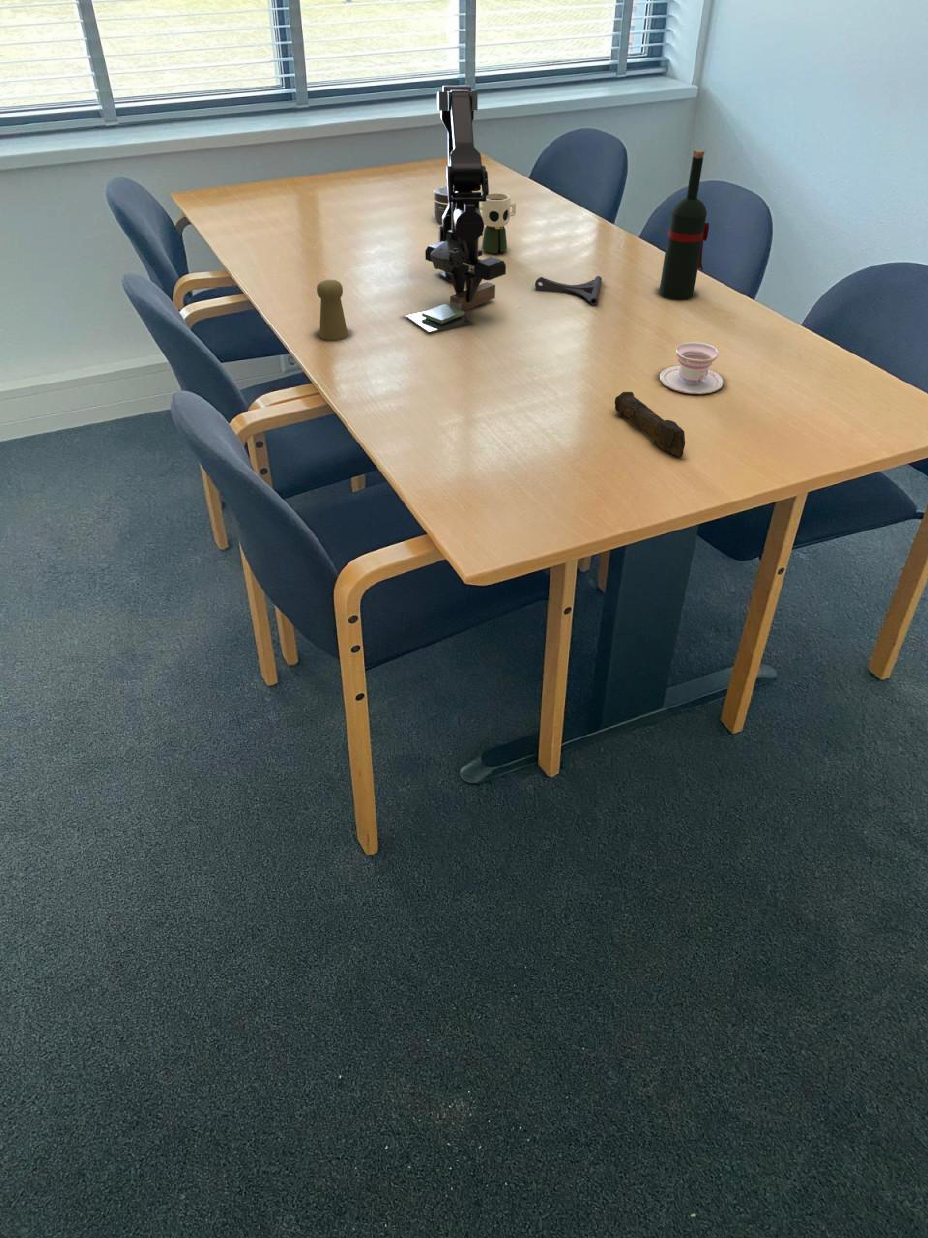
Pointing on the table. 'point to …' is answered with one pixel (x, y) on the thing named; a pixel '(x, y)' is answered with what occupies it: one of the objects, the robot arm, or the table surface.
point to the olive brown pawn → (331, 311)
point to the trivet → (435, 323)
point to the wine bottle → (685, 240)
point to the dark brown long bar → (652, 423)
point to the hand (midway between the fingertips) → (464, 300)
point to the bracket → (573, 288)
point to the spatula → (460, 304)
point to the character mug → (496, 221)
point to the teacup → (693, 370)
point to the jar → (440, 202)
